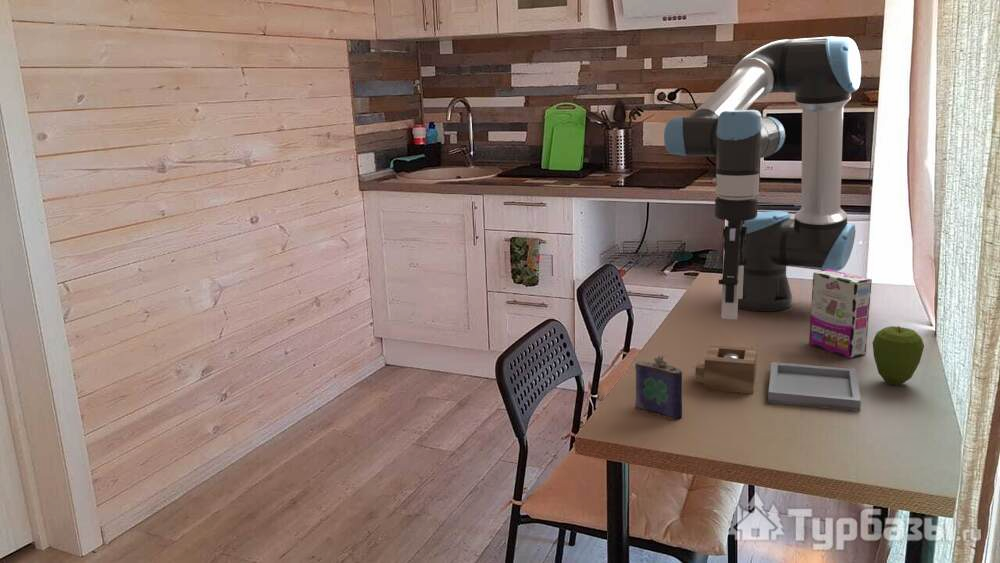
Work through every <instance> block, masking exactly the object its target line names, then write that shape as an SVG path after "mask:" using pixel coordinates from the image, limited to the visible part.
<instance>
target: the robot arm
mask: <svg viewBox="0 0 1000 563" xmlns="http://www.w3.org/2000/svg"><path fill="white" fill-rule="evenodd" d="M861 77H862V61H861V53H860V51H859V49H858V46H857V43H856V42H855V41H854V40H853V39H852V38H850V37H848V36H822V37H806V38H805V37H804V38H795V39H794V38H793V39H790V38H789V39H780V40H776V41H771V42H770V43H767V44H764V45H763V46H761V47H759V48H757V49H755V50H754V51H751V53H749V54H747V55H746V56H745V57H743V58H742V59H741V60H739V61H738V63H737V64H736V65H735V66H734V67H733V69H732V72H731V75H730V77H728V79H727V80H726V81H724V82H723V83H722V84H721V85H720V86H719V87H718V88H717V89H716V90H715V91H714V92H713V93H711V95H710V96H709V97H708V98H706V100H705V101H704V102H703V103H701V104H700V105H699V107H698V108H697V109H695V111H693V113H691V114H690V115H689V116H686V117H685V116H680V117H672V118H671V119H669V120H668V121H667V123H666V125H665V128H664V132H663V141H664V147H665V149H666V151H667V152H668V153H669V154H670V155H673V156H674V155H676V156H683V157H690V156H691V157H716V165H715V166H716V167H715V168H716V169H715V171H716V172H715V173H716V175H715V176H716V177H714V178H712V183H713V184H716V185H715V195H716V196H717V197H716V198H715V199H714V217H715V218H716V219H718V220H722V221H725V220H726V221H727V225H726V226H725V225H724V228H723V231H722V232H723V233H722V234H723V235H722V236H723V252H724V253H723V266H722V278H721V279H718V285H722V288H721V289H722V292H721V316H720V318H721V319H724V320H738V308H740V309H743V310H749V311H756V312H757V311H759V312H775V311H780V310H785V309H788V308H790V307H792V304H793V294H792V291H791V288H790V283H789V280H788V277H787V267H792V268H801V269H808V270H815V271H816V270H817V271H822V270H828V269H829V270H833V271H838V272H840V271H842V270H843V269H844V268H845V266H846V265H847V263H848V262H849V260H850V257H851V254H852V252H853V249H854V248H853V247H854V243H855V239H856V231H857V230H856V225H855V224H853V223H852V222H848V214H847V212H845V210H844V209H842V208H841V202H842V201H841V196H842V169H843V168H842V166H843V162H842V161H843V160H842V159H843V132H844V128H843V127H844V108H845V105H846V104H847V103H848V102H850V100H851V98H852V93H854V92H856V91H857V90H858V89H859V87H860V84H861ZM775 93H777V94H778V93H789V94H791V93H794V94H795V95H794V96H795V97H794V99H795V101H794V102H795V103H796V105H797V106H799V107H800V108H801V111H802V112H801V113H802V114H801V118H802V119H801V203H800V204H801V207H800V209H799V210H798V211H797V212H796V213H795V214H794V218H791V215H790V213H789V212H788V211H783V210H772V211H764V212H763V211H762V212H758V210H759V209H758V205H759V203H758V202H759V199H758V198H757V197H756V196H758V195H759V186H760V161H761V159H763V158H768V157H771V155H774V154H775V153H777V152H778V151H779V150H780V149H781V148H782V147H783V145H784V143H785V139H786V132H785V131H786V130H785V128H784V125H783V124H782V122H781V121H779V120H778V119H777V118H775V117H772V116H767V115H766V116H763V115H762V114H761V112H760V111H759V110H756V109H749V108H750V107H751V105H752V104H753V103H755V101H756V100H760V99H763V98H764V97H766V96H767V95H768V94H775Z"/></svg>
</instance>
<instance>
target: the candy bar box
mask: <svg viewBox="0 0 1000 563" xmlns="http://www.w3.org/2000/svg"><path fill="white" fill-rule="evenodd" d="M812 274H813V275H812V293H811V304H810V306H811V309H810V320H809V321H810V324H809V337H808V338H809V339H808V344H809V345H811V346H814V347H816V348H819V349H822V350H825V351H828V352H831V353H834V354H837V355H840V356H842V357H845V358H848V359H854V358H858V357H862V356H865V355H866V353H867V345H868V344H867V343H868V331H869V330H868V329H869V317H870V316H869V315H870V305H871V294H872V281H873V280H872V278H867V277H863V276H858V275H855V274H850V273H845V272H842V271H841V272H840V271H833V270H829V269H828V270H822V271H821V270H817V271H813V273H812Z"/></svg>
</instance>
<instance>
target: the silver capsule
mask: <svg viewBox="0 0 1000 563" xmlns="http://www.w3.org/2000/svg"><path fill="white" fill-rule="evenodd" d="M723 358H734V359H739V356H738V355H736V354H724V357H723Z"/></svg>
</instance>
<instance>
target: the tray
mask: <svg viewBox="0 0 1000 563" xmlns="http://www.w3.org/2000/svg"><path fill="white" fill-rule="evenodd" d="M860 393H861V392H860V387H859V381H858V375H857V369H856V368H849V367H848V368H846V367H834V366H823V365H810V364H800V363H799V364H797V363H784V362H774V361H773V362H771V363H770V373H769V385H768V394H767V396H768V397H767V402H768V403H772V404H782V405H784V404H785V405H793V406H801V407H811V408H812V407H814V408H822V409H823V408H824V409H833V410H842V411H843V410H844V411H855V412H861V403H862V398H861V394H860Z"/></svg>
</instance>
